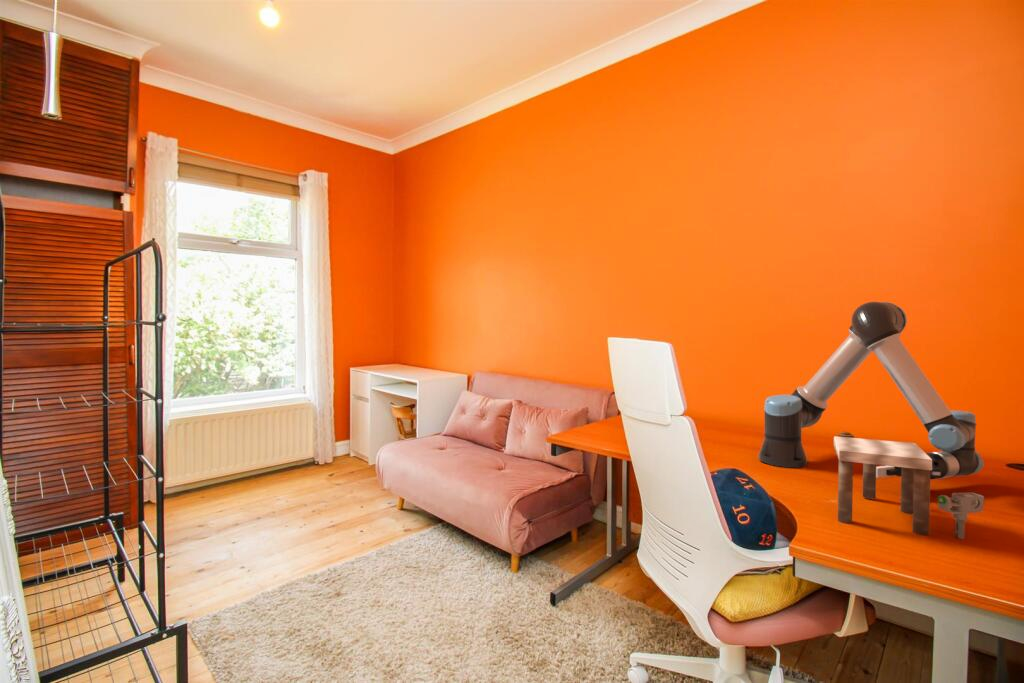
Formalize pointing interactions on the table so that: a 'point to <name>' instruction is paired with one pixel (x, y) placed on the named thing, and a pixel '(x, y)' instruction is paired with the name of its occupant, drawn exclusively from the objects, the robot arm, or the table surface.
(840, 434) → the ornamental finial
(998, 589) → the table surface
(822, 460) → the table surface
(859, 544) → the table surface
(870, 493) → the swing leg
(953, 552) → the table surface
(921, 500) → the stool
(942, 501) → the mechanical component
